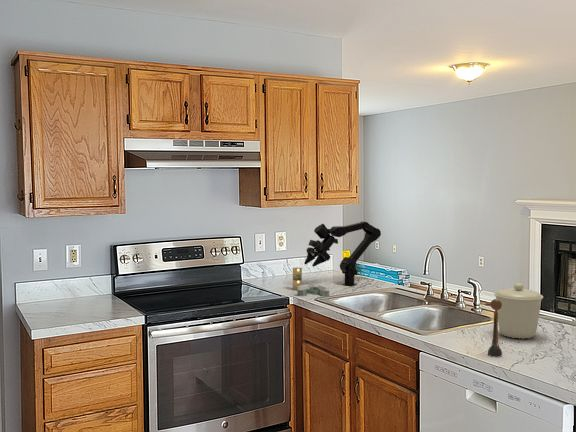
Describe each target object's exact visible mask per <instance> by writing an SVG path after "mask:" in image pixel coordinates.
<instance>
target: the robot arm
mask: <svg viewBox="0 0 576 432" xmlns="http://www.w3.org/2000/svg"><path fill="white" fill-rule="evenodd" d="M360 230H362V231H363V232H364V238H363V239H362V241H360V243H359V244H358V245H357V247H356V248H355V249H354V251H353V252H352V253H351V255H349V256H348V257H346V256H344V257H343V259H342V260H341V261H340V264H339V268H340V271H341V273H342V274H344V283H342V286H350V287H353V286H357V284H358V283H355V276H357V275H358V273H359V271H358V270H357V269H356V265H357V262H358V260H359V259H360V258H361V256H362V255H363V254H364V253H365V252H366V250H367V249H368V248H369V246H370V245H371V244H372V243H373V242H376V241H377V240H378V239H379V238H380V237H381V234H382V233H381V232H382V231H381V230H380V229H379V228H378V227H375V226H374V225H372V224H370V223H369V222H367V221H363V220H362V221H359V222H356V223H352V224H347V225H342V226H341V225H338V226H337V225H335V226H334V225H333V226H332V227H331V228H328V227H327V226H326V225H325V224H324V223H321V224H319V225H318V226H316V227H315V228H314V230H313V232H314V233H315V235H317V237H318V238H319V239H322V241H321V240H319V239H317V240H313V239H310V240H309V242H308V246H311V247H307V248H306V253H307V255H306V258H305V260H304V262H303V263H304V265H308V264H309V263H310V262H312V261H313V263H312V265H311V267H313V268H314V267H316V266H319V265H321V264H323V263H325V262H327V261H330V259H331V255H330V254H329V253H328V252H329V251H330V250H331V249H330V248H331V247H332V246H333V245H334V244H337V245H338V244H339V239H338V238H342V237H343V236H346V234H349V233H353V232H356V231H360ZM335 237H336V238H335ZM327 251H328V252H327Z"/></svg>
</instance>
